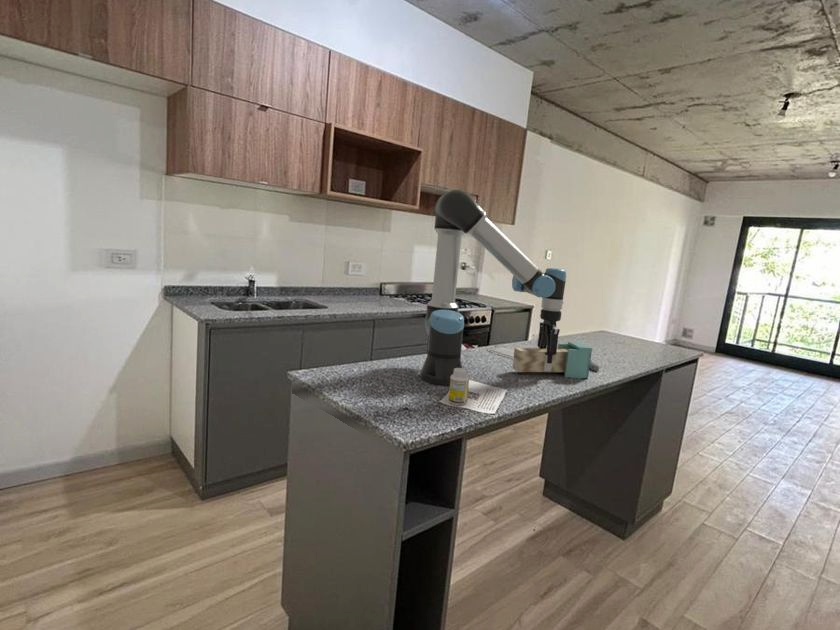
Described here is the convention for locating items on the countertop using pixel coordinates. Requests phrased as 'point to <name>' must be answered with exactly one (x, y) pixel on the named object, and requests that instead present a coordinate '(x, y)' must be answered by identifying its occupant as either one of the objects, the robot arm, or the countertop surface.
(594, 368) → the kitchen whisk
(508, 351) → the baseboard
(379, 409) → the countertop surface
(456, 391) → the supplement bottle
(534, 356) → the beige zigzag patterned block
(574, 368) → the end cap
